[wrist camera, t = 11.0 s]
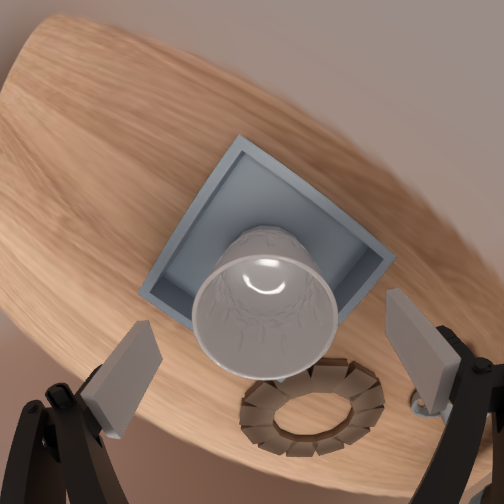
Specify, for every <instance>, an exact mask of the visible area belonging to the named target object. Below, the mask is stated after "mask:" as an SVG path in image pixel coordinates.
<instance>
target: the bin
mask: <svg viewBox="0 0 504 504" xmlns="http://www.w3.org/2000/svg"><path fill="white" fill-rule="evenodd" d="M259 225H267V226H279V227H281V228H283V229H284V230H286V231H288V232H290V233H291V234H293V235H295V236H296V238H297V239H298V241H299V242H300V244H302V245H303V246H304V247H305V249H306V250H307V252H308V253H309V254H310V256H311V257H312V259H313V260H314V262H315V263H316V265H317V267H318V268H319V270H320V272H321V274H322V275H323V277H324V279H325V280H326V282H327V284H328V286H329V287H330V289H331V291H332V293H333V295H334V297H335V300H336V303H337V308H338V326H339V325H340V323H341V322H342V321H343V320H344V319H345V318H346V317H347V316H348V315H349V314H350V313H351V311H352V310H353V309H354V308H355V307H356V306H357V305H358V304H359V302H360V301H361V300H362V299H363V298H364V297H365V295H366V294H367V293H368V292H369V291H370V290H371V288H372V287H373V286H374V285H375V284H376V283H377V281H378V280H379V279H380V278H381V276H382V275H383V274H384V273H385V272H386V270H387V269H388V268H389V267H390V265H391V264H392V263H393V262H394V260H395V259H396V258H397V257H396V256H395V255H394V254H393V253H392V252H391V251H390V250H389V249H388V248H386V247H385V246H384V245H383V244H382V243H381V242H380V241H378V240H377V239H376V238H375V237H374V236H373V235H372V234H370V233H369V232H368V231H367V230H366V229H365V228H363V227H362V226H361V225H360V224H359V223H357V222H356V221H355V220H354V219H353V218H351V217H350V216H349V215H348V214H346V213H345V212H344V211H343V210H342V209H340V208H339V207H338V206H337V205H335V204H334V203H333V202H332V201H330V200H329V199H328V198H326V197H325V196H324V195H323V194H321V193H320V192H319V191H318V190H316V189H315V188H314V187H312V186H311V185H310V184H308V183H307V182H306V181H304V180H303V179H302V178H300V177H299V176H298V175H296V174H295V173H294V172H292V171H291V170H290V169H288V168H287V167H285V166H284V165H283V164H281V163H280V162H279V161H277V160H276V159H274V158H273V157H271V156H270V155H269V154H267V153H266V152H264V151H263V150H261V149H260V148H259V147H257V146H256V145H254V144H253V143H251V142H250V141H248V140H247V139H245V138H244V137H242V136H241V135H238V136H237V138H236V139H235V141H234V142H233V143H232V145H231V146H230V148H229V149H228V150H227V152H226V153H225V155H224V156H223V158H222V159H221V160H220V162H219V163H218V165H217V166H216V168H215V169H214V171H213V172H212V174H211V175H210V176H209V178H208V179H207V181H206V182H205V184H204V185H203V187H202V188H201V190H200V191H199V193H198V194H197V196H196V198H195V199H194V201H193V202H192V204H191V205H190V207H189V208H188V210H187V211H186V213H185V215H184V216H183V218H182V219H181V221H180V223H179V224H178V226H177V227H176V229H175V231H174V232H173V234H172V235H171V237H170V239H169V240H168V242H167V244H166V245H165V247H164V249H163V250H162V252H161V254H160V255H159V257H158V259H157V260H156V262H155V264H154V266H153V267H152V269H151V271H150V273H149V274H148V276H147V278H146V280H145V281H144V283H143V285H142V287H141V288H140V290H139V292H138V295H140V296H141V297H143V298H144V299H145V300H147V301H148V302H150V303H151V304H153V305H154V306H155V307H157V308H158V309H160V310H161V311H163V312H164V313H166V314H167V315H169V316H170V317H172V318H173V319H175V320H176V321H178V322H179V323H181V324H182V325H184V326H185V327H187V328H188V329H190V330H191V331H193V332H194V330H193V325H192V308H193V303H194V300H195V297H196V295H197V292H198V290H199V289H200V287H201V285H202V284H203V283H204V281H205V280H206V278H207V277H208V275H209V274H210V272H211V271H212V269H213V267H214V266H215V264H216V263H217V261H218V260H219V259H220V257H221V256H222V255H223V253H224V252H225V251H226V249H227V248H228V247H229V246H230V245H231V244H232V243H233V242H234V241H235V240H236V239H237V238H238V237H239V235H240V234H241V233H242V232H244V231H246V230H249V229H251V228H254V227H257V226H259ZM338 326H337V327H338ZM285 379H286V378H282V379H277V381H279V382H283V381H284V380H285Z"/></svg>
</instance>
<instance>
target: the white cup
mask: <svg viewBox="0 0 504 504" xmlns="http://www.w3.org/2000/svg"><path fill="white" fill-rule="evenodd" d="M192 325H193V330H194V334H195V337H196V339H197V341H198V343H199V345H200V347H201V348H202V350H203V351H204V352H205V354H206V355H207V356H208V357H209V358H210V359H211V360H212V361H213V362H214V363H216V364H217V365H218V366H220V367H221V368H223V369H225V370H226V371H228V372H230V373H232V374H235V375H237V376H240V377H244V378H248V379H254V380H277V379H282V378H287V377H290V376H293V375H296V374H298V373H300V372H302V371H304V370H306V369H308V368H309V367H311V366H312V365H314V364H315V363H316V362H317V361H318V360H319V359H320V358H321V357H322V356H323V355H324V354H325V353H326V351H327V350H328V349H329V347H330V345H331V344H332V342H333V340H334V337H335V334H336V331H337V326H338V308H337V303H336V300H335V297H334V295H333V293H332V291H331V289H330V287H329V286H328V284H327V282H326V280H325V279H324V277H323V275H322V274H321V272H320V270H319V268H318V267H317V265H316V263H315V262H314V260H313V259H312V257H311V256H310V254H309V253H308V252H307V250H306V249H305V247H304V246H303V245H302V244H300V242H299V241H298V239H297V238H296V236H295V235H293V234H291V233H290V232H288V231H286V230H284V229H283V228H281V227H279V226H267V225H259V226H257V227H254V228H251V229H249V230H246V231H244V232H242V233H241V234H240V235H239V237H238V238H237V239H236V240H235V241H234V242H233V243H232V244H231V245H230V246H229V247H228V248H227V249H226V251H225V252H224V253H223V255H222V256H221V257H220V259H219V260H218V261H217V263H216V264H215V266H214V267H213V269H212V271H211V272H210V274H209V275H208V277H207V278H206V280H205V281H204V283H203V284H202V285H201V287H200V289H199V290H198V292H197V295H196V297H195V300H194V303H193V308H192Z"/></svg>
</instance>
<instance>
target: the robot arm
mask: <svg viewBox="0 0 504 504" xmlns="http://www.w3.org/2000/svg"><path fill="white" fill-rule="evenodd" d="M385 335H386V336H387V338H388V340H389V341H390V343H391V345H392V346H393V348H394V350H395V352H396V353H397V355H398V357H399V359H400V360H401V362H402V364H403V366H404V367H405V369H406V371H407V373H408V375H409V376H410V378H411V380H412V382H413V384H414V385H415V387H416V389H417V391H418V393H419V395H420V397H421V398H422V400H423V402H424V404H425V406H426V408H427V410H428V412H429V414H430V415H431V414H434V413H437V412H440V411H442V410H445V409H446V407H447V404H448V401H449V400H450V402H451V403H452V405H453V407H452V409H451V412H450V415H449V417H448V420H447V423H446V426H445V429H444V431H443V434H442V436H441V439H440V441H439V444H438V446H437V448H436V451H435V453H434V455H433V457H432V459H431V462H430V464H429V466H428V468H427V470H426V472H425V474H424V476H423V478H422V480H421V482H420V484H419V486H418V488H417V489H416V491H415V493H414V495H413V497H412V498H411V500H410V502H409V504H459V501H460V499H461V496H462V494H463V492H464V489H465V487H466V484H467V482H468V479H469V476H470V473H471V471H472V468H473V465H474V462H475V459H476V455H477V452H478V449H479V445H480V442H481V438H482V434H483V430H484V426H485V422H486V418H487V413H491V415H492V432H493V471H492V483H491V484H489V485H487V486H486V487H485V488H484V489H483V490H481V491H480V492H479V493H477V494H476V495H475V496H473V497H472V498H471V500H470V502H469V504H504V364H500V365H494V364H493V363H492V362H491V361H490V360H488V359H486V358H483V357H475V356H474V355H473V353H472V352H471V351H470V350H469V349H468V348H467V347H466V346H465V344H464V343H463V342H461V340H460V339H459V338H458V337H457V336H456V334H455V333H454V332H453V331H452V330H451V329H449V328H447V327H445V326H443V325H442V326H438V327H434V326H433V324H432V323H431V322H430V321H429V320H428V319H427V318H426V316H425V315H424V314H423V313H422V312H421V311H420V310H419V309H418V308H417V306H416V305H415V304H414V303H413V302H412V301H411V300H410V299H409V298H408V297H407V296H406V294H405V293H404V292H403V291H402V290H401V289H400V288H394V289H389V290H386V322H385ZM162 360H163V359H162V356H161V353H160V351H159V348H158V345H157V343H156V340H155V337H154V334H153V331H152V329H151V326H150V323H149V320H145V321H137V322H136V323H135V324H134V326H133V327H132V328H131V329H130V331H129V332H128V333H127V334H126V336H125V337H124V338H123V339H122V341H121V342H120V343H119V344H118V346H117V347H116V348H115V350H114V351H113V352H112V353H111V355H110V356H109V357H108V358H107V360H106V361H105V362H104V364H101V365H100V366H98V367H97V368H96V369H94V370H93V372H92V373H91V374H90V376H89V377H88V378H87V379H86V382H84V383H83V385H82V386H81V387H80V388H79V390H78V391H77V392H76V394H75V395H73V393H72V391H71V390H70V388H69V386H68V384H66V383H57V384H54V385H53V386H51V387H50V388H48V390H47V391H46V393H45V396H46V398H47V400H48V401H49V403H50V404H51V406H52V407H50V408H45V406H44V405H43V403H42V402H41V401H40V400H33V401H30V402H28V403H27V404H26V405H25V406H24V408H23V410H22V413H21V416H20V419H19V422H18V425H17V428H16V431H15V435H14V438H13V442H12V445H11V450H10V453H9V458H8V461H7V466H6V470H5V475H4V480H3V486H2V491H1V496H0V504H66V489H67V493H68V497H69V501H70V504H129V503H128V501H127V499H126V497H125V494H124V492H123V490H122V488H121V486H120V484H119V481H118V479H117V476H116V474H115V472H114V469H113V466H112V464H111V461H110V459H109V456H108V453H107V451H106V448H105V445H104V442H103V439H102V437H101V436H100V435H99V433H100V431H101V430H102V429H103V431H104V432H105V434H106V435H107V436H108V437H111V438H117V439H121V438H122V436H123V434H124V432H125V430H126V428H127V426H128V425H129V423H130V421H131V419H132V417H133V415H134V413H135V411H136V409H137V407H138V405H139V403H140V401H141V399H142V397H143V396H144V394H145V392H146V390H147V388H148V386H149V384H150V382H151V380H152V378H153V377H154V375H155V373H156V371H157V369H158V367H159V365H160V363H161V362H162ZM42 440H43V442H44V446H43V442H42Z"/></svg>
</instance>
